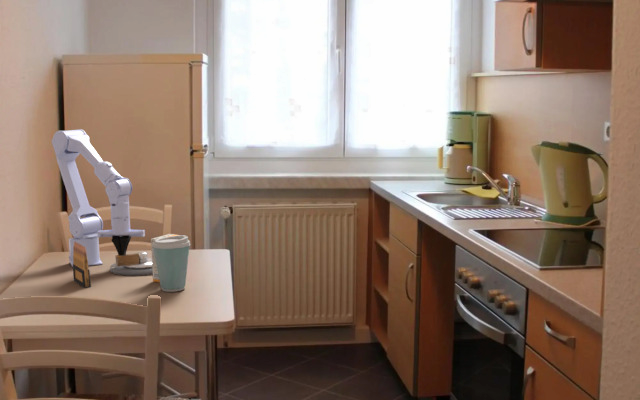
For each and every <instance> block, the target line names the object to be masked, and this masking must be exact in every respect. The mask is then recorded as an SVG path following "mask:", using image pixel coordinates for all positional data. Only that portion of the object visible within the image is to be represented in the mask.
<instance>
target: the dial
mask: <svg viewBox="0 0 640 400" xmlns="http://www.w3.org/2000/svg"><path fill="white" fill-rule="evenodd" d="M115 263H116V266H124V267H125V268H130V269H146V268H152V257H148V252H147V251H140V252H137V253H135V252H134V253H128V254H127V253H126V255H118V254H116V255H115Z"/></svg>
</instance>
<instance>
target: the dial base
mask: <svg viewBox="0 0 640 400" xmlns="http://www.w3.org/2000/svg"><path fill="white" fill-rule="evenodd" d="M109 268H110V272H111V273H112V274H115V275H119V276H127V277H128V276H129V277H138V276H139V277H141V276H153V269H152V268H146V269H130V268H125V267H124V266H116V262H115V263H114V264H112V265H110V267H109Z"/></svg>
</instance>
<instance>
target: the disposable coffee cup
mask: <svg viewBox="0 0 640 400" xmlns="http://www.w3.org/2000/svg"><path fill="white" fill-rule="evenodd" d="M178 235H179V236H170V237H164V238H160V239H157V240H155V241H154V243H153V246H152V247H153V249H154V255H155V260H156V265H157V270H158V275H159V280H160V282H159V284H160V288H161V290H162V291H163V292H166V293H167V292H169V293H173V292H180V291H184V290H185V287H186V281H187V274H188V263H189V255H190V247H191V240H189V236H187V235H183V234H182V235H181V234H178ZM183 289H184V290H183Z"/></svg>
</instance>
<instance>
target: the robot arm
mask: <svg viewBox="0 0 640 400" xmlns="http://www.w3.org/2000/svg"><path fill="white" fill-rule="evenodd" d="M51 145H52V147H53V151H54V154H55V158H56V163H57V166H58V169H59V171H60V174H61V175H60V176H61V178H62V181H63V185H64V186H65V190H66V193H67V197H68V200H69V202H70V206H71V208H72V209H71V210H72V211H71V212H70V214H69V215H68V217H67V219H68V224H69V226H68V228H69V232H70V234H71V235H72V236H73V237H71V238H68V247H69V255H68V259H69V260H68V261H69V263H70V266H71V267H72V268H73V264H74V263H73V251H74V250H73V247H74V242H77V243H79V244H81V246H82V245H83V247H84V246H85V248H86V252H87V259H88V266H95V265H98V266H99V265H102V264H103V261H102V260H101V258H100V242H99V241H100V240H99V238H111V239H110V240H111V242H112V243H113V245H114V248H115V249H116V252H117V255H127V251H128V247H129V243H130V241H131V239H132V238H133V237H135V238H136V237H139V238H144V237H145V236H146V230H145V229H133V228H132V229H131V215H130V214H131V213H130V196H131V195H132V192H133V184H132V182H131V181H130V179H129V178H128V177H124V176H121V173H119V172H118V171H117V170H116V169H115V168H114V167H113V164H112V163H111V162H109V161H104V160H103V159H102V157H101V156H100V154H98V152H97V150H96V148H94V147H93V145H92V144H91V141H90V136H89V135H88V133H86V131H85V130H84V129H82V128H80V129H79V128H78V129H71V130H57V131H55V132H54V134H53V137H52V139H51ZM80 154H81V156H82V157H83V158H84V159H85V160H86V161H87V162H88V163H89V164H90V165H91V166H92V167H93V168H94V170H93V173H94V175H95V176H96V177H97V179H98V180H99V181H100V182H101V183H102V185H104V186H105V193H106V196H107V197H108V203H109V204H110V222H111V224H110V225H111V229H104V221H103V219H102V217H101V216H100V215H99V212H98V209H96V208H94V207H92V206H91V205H90V202H89V200H88V196H87V194H86V189H85V187H84V184H83V181H82V178H81V175H80V171H79V169H78V166H77V163H76V159H77V158H78V157H79V156H80ZM103 229H104V230H103Z"/></svg>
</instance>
